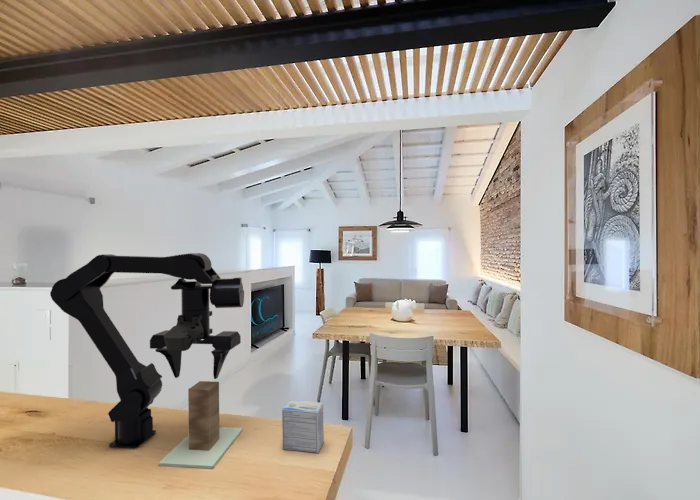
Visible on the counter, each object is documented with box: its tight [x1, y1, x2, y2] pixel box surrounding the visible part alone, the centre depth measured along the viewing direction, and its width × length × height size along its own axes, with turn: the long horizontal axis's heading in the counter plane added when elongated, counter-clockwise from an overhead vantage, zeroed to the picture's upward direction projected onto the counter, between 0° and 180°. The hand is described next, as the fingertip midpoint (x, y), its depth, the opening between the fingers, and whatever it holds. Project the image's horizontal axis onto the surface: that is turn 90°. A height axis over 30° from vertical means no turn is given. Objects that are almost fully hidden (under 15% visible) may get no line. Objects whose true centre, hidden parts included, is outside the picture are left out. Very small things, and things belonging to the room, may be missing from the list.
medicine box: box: [281, 399, 325, 454], centre depth 73 cm, size 8×4×9 cm, turn 79°
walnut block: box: [187, 380, 220, 451], centre depth 73 cm, size 4×4×12 cm
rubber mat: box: [158, 426, 244, 470], centre depth 73 cm, size 11×14×1 cm
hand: (196, 377), depth 78 cm, fingers open, 9 cm apart
